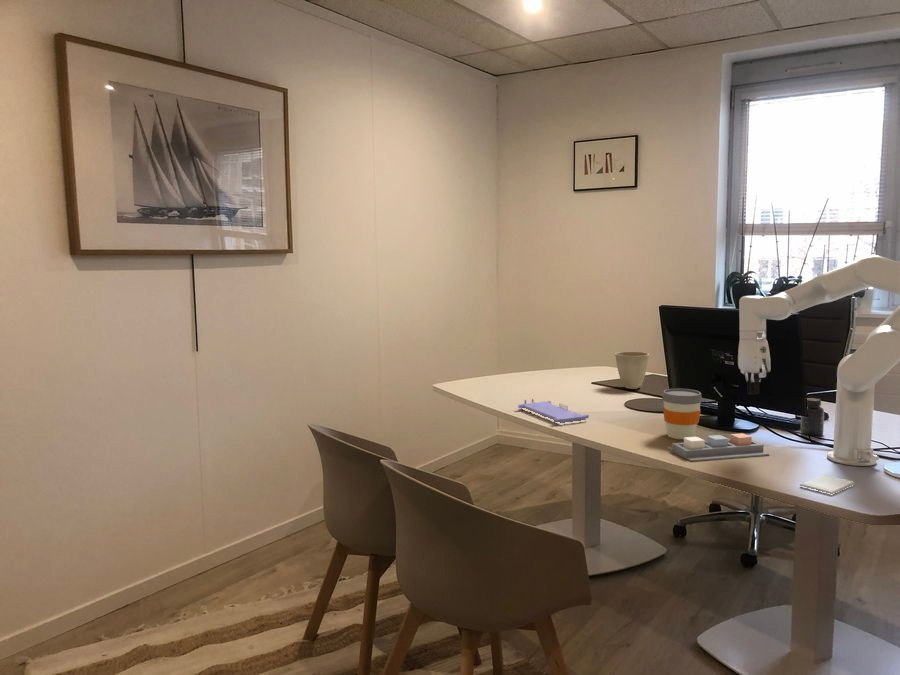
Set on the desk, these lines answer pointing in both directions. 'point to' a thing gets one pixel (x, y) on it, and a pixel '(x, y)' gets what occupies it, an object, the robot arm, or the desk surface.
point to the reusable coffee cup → (681, 412)
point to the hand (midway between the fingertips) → (753, 393)
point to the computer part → (553, 411)
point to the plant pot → (632, 367)
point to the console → (719, 451)
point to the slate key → (717, 441)
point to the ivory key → (693, 442)
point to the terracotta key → (740, 439)
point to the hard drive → (828, 484)
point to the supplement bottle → (813, 418)
